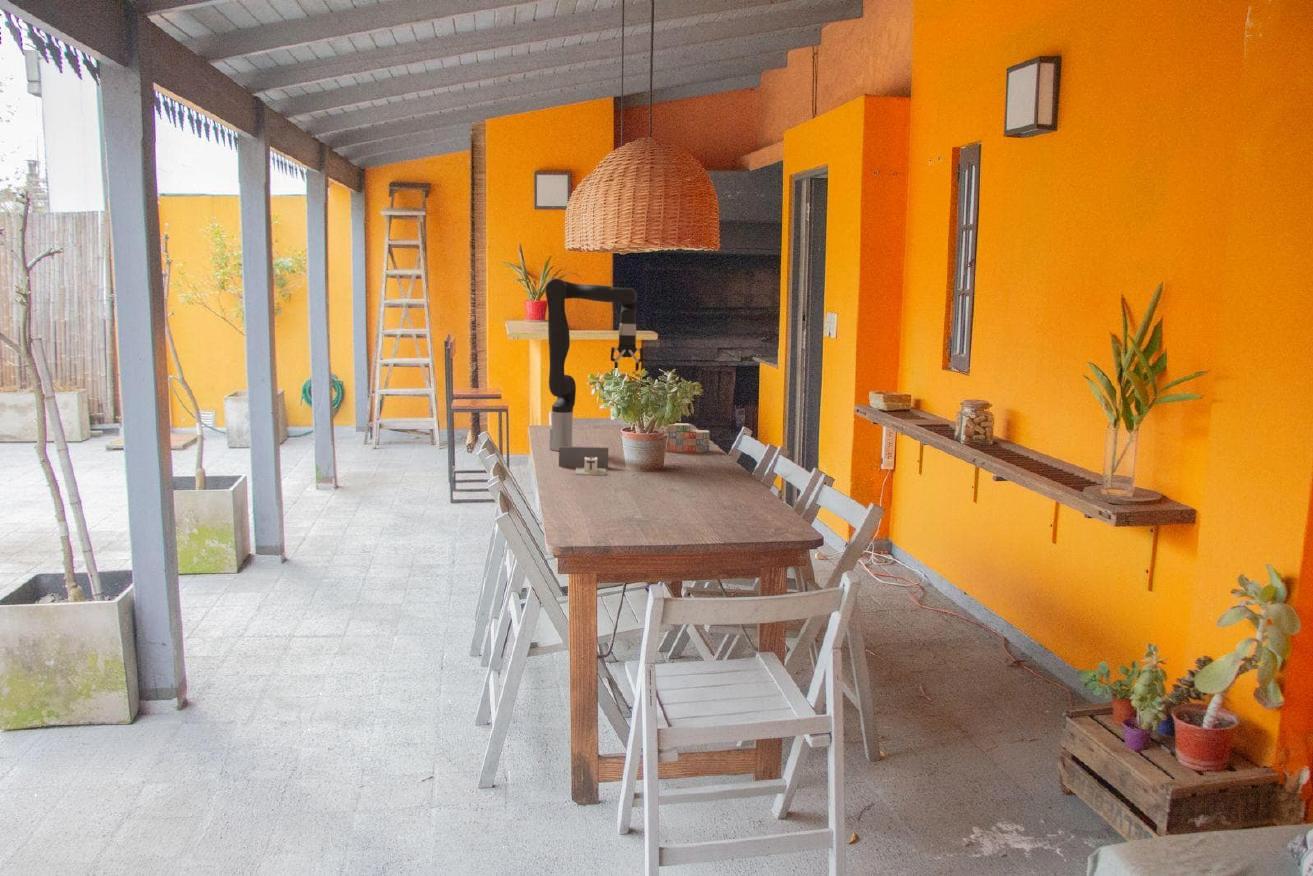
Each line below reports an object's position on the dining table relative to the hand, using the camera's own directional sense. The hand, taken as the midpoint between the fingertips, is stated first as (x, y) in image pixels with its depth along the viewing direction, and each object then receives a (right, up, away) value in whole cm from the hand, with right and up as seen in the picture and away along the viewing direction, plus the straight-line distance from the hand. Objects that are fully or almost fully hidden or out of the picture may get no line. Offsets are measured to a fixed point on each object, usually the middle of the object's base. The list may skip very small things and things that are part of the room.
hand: (626, 371), depth 444 cm
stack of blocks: (+26, -35, +15) cm, 46 cm away
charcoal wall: (-17, -41, -31) cm, 54 cm away
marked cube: (-13, -42, -41) cm, 61 cm away
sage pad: (-13, -43, -41) cm, 61 cm away
